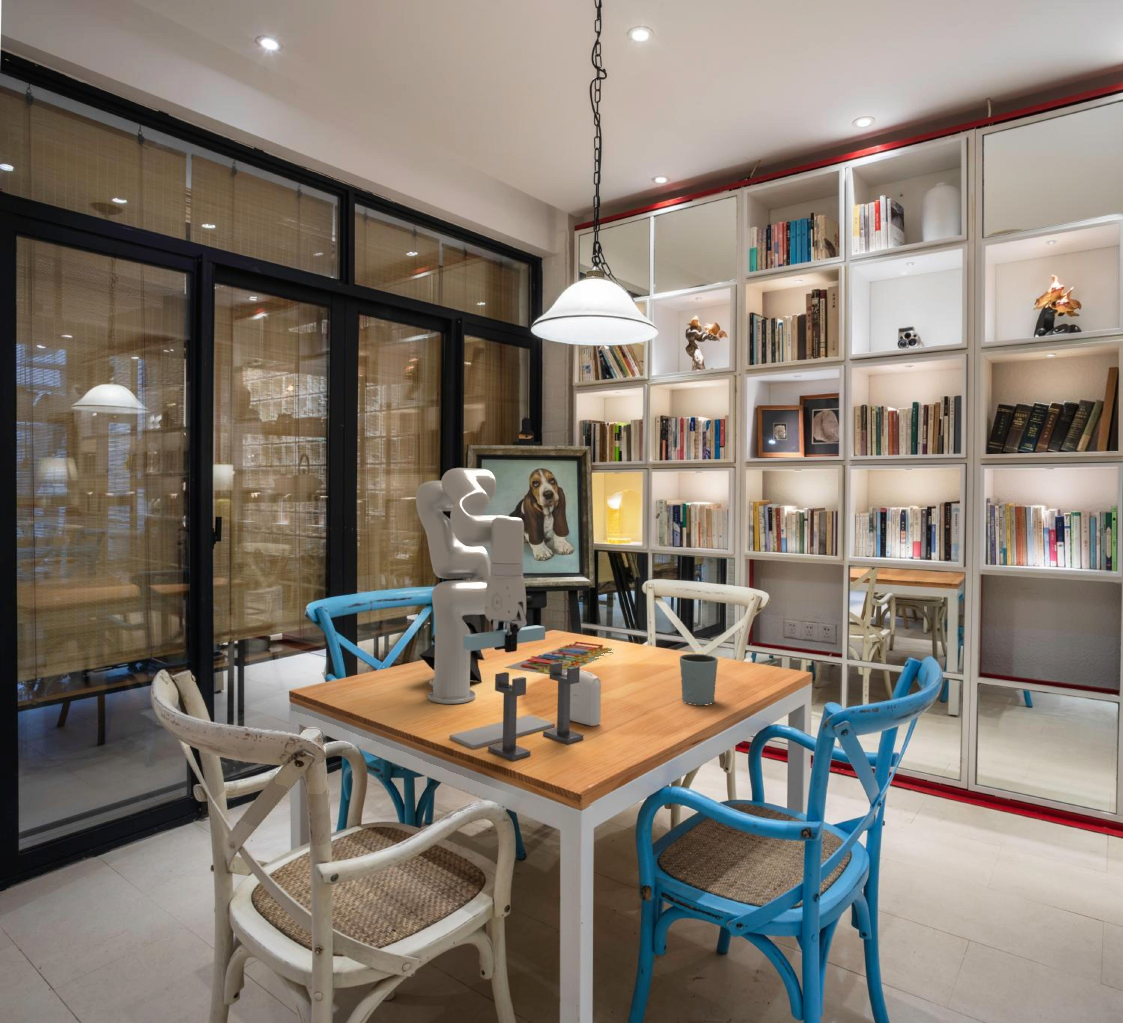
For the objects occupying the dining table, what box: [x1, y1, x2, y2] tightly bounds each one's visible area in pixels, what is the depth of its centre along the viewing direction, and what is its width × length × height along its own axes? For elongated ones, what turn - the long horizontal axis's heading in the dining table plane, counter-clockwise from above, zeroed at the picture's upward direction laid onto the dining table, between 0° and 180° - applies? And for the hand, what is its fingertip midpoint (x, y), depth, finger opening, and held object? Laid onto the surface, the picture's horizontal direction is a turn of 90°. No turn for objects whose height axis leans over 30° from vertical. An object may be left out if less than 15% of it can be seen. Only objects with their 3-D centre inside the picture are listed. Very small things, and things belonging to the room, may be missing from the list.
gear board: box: [504, 641, 614, 675], centre depth 251 cm, size 45×2×19 cm
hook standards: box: [487, 662, 584, 762], centre depth 163 cm, size 8×21×16 cm, turn 134°
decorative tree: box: [418, 615, 485, 683], centre depth 221 cm, size 15×15×35 cm
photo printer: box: [565, 669, 602, 727], centre depth 181 cm, size 10×4×12 cm, turn 47°
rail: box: [463, 624, 546, 651], centre depth 171 cm, size 3×22×3 cm, turn 134°
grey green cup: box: [679, 653, 719, 706], centre depth 201 cm, size 10×10×12 cm
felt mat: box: [449, 714, 556, 750], centre depth 171 cm, size 9×24×1 cm, turn 134°
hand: (505, 649), depth 171 cm, fingers closed on rail, 3 cm apart
